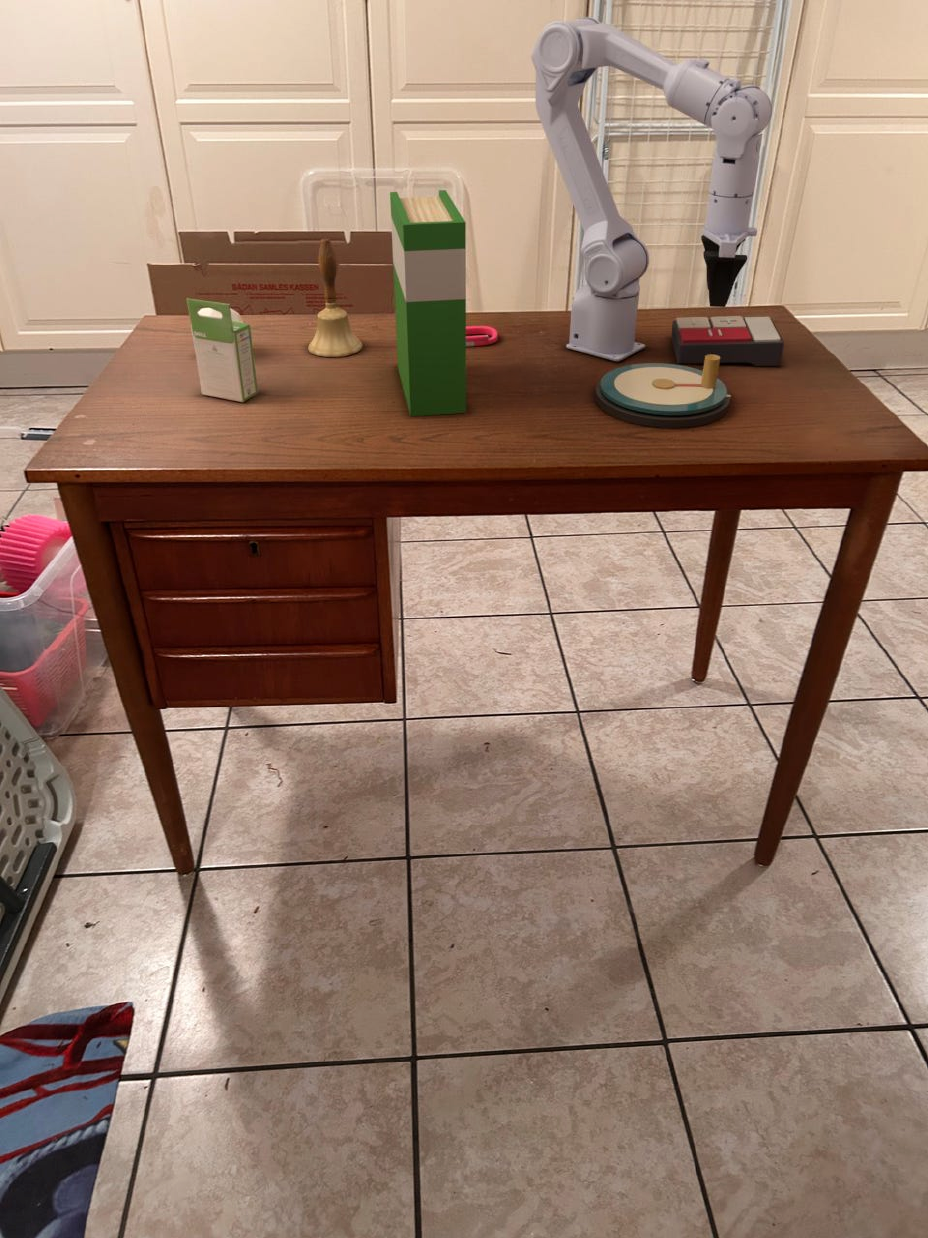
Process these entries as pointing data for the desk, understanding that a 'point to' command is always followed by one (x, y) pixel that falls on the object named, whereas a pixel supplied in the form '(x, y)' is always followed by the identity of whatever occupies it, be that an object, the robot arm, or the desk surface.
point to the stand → (660, 420)
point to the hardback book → (430, 302)
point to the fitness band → (480, 339)
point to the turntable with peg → (666, 387)
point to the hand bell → (332, 314)
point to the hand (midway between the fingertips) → (716, 297)
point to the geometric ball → (214, 313)
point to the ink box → (223, 353)
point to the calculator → (727, 340)
